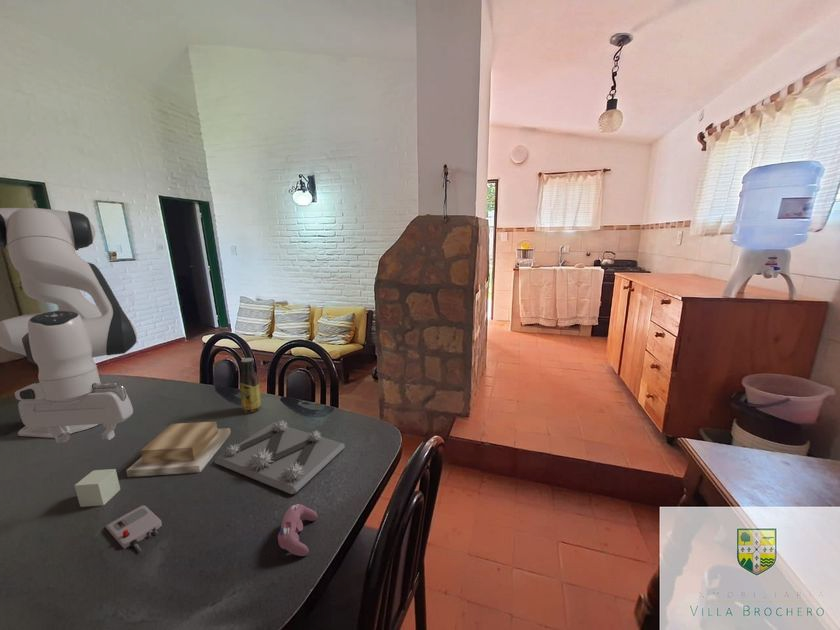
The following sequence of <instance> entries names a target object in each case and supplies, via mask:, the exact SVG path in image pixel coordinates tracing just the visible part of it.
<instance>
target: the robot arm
mask: <svg viewBox="0 0 840 630" xmlns="http://www.w3.org/2000/svg"><path fill="white" fill-rule="evenodd" d="M95 237H96V229H95V227H94V225H93V224H92V222H91V221H90V220H89V218H88V217H87V215H85V214H83V213H80V212H77V211H71V210H67V211H64V210H57V209H51V208H50V209H49V208H39V207H0V249H4V250H5V249H7V251H8V255H9V259H10V261H11V264H12V265H13V267H14V269H15V270H16V271H17V272H18V274H19V277H20V281H21V286H22V290H23V292H24V294H25V295H26V296H27V297H28V298H31V299H33V300H36V301H40V302H43V303H49V304H53V305H57V309H56V310H54V311H45V312H39V313H38V312H37V313H30V314H22V315H19V316H14V317H11V318H6V319H3V320H1V321H0V347H1V348H3V349H5V350H7V351H8V352H12V353H17V354H20V355H23V356H26V360H27V361H28V362H30V363H33V364H35V365H37V368H38V375H37V377H38V381H36V382H34V383H31V384H29V385H27V386H25V387H22V388H20V389H18V390H16V391H15V392H14V395H15V396H14V397H15V399H16V400H17V401H19V402H18V406H17V407H18V408H17V409H18V411H19V416H20V419H21V421H22V423H23V425H24V427H22V428H20V430H18V432H17V436H20V437H34V438H35V437H36V438H49V439H55V443H56V444H64V443H67V442H68V441H70V440H71V437H72V436H71V434H74V433H79V432H82V431H85V430H88V429H90V428H94V427H96V426H98V425H102V426H103V428H105V430H104V432H102V433H100V437H101V440H102V441H110V440H111V439H114V438H115V436H116V434H115V431H114V430H115V429H116V426H117V424H120V423H123V422H125V421H126V420H127V419H129V418H130V417H132V415H133V413H134V408H133V405H132V402H131V399H130V398H129V396H128V394H127V390H126V387H124V386H123V385H121V384H118V383H117V382H110V383H109V382H108V383H105V382H101V379H100V375H99V370H98V366H97V364H96V362H95V361H94V359H93V358H97V357H103V356H114V355H123V354H126V353H127V352H128V351H130V349H132V348H133V347H134V346H135V345H136V344H137V340H138V335H137V334H138V333H137V330H136V328H135V325H134V324H133V323H132V321H131V320H130V319H129V318H128V316H127V314H126V313H125V311H124V309H123V308H122V306H121V304H120V303H119V301H118V299H117V298H116V296H115V294H114V292H113V290H112V288H111V286H110V285H109V283H108V281H107V280H106V278H105V277H104V275H103V273H102V272H101V270H100V269H99V268H98V266H96V265H95V264H94V263H91V262H88V261H86V260H84V259H83V258H82V257H81V256H79V255H78V253H77V252H76V251H79V249H85V248H88V247H90V246H91V245H93V244H94V243H93V242H94V240H95ZM82 291H83V292H85V293H87V294H88V295H90V296H91V299H92V300H93V302H94V303H95V304H94V303H92V302H91V301H89V300H88V299H87V297H85V296H84V295H83V294H82Z"/></svg>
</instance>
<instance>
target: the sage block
mask: <svg viewBox="0 0 840 630" xmlns="http://www.w3.org/2000/svg"><path fill="white" fill-rule="evenodd" d="M118 477H119V476H118V473H117V469H116V468H111V469H110V468H109V469H96V470H95V469H94V470H91V472H90V473H88V474H87V475H86V476H84V477H83V478H82V479H80V480H79V481H78V482H77V483H75V484H74V489H75V493H76V495H77V500H78V503H79V507H80V508H85V507H98V506H99V507H100V506H104V505H106V504H107V503H108V502H109V501H110V500H111V499H112V498H113V497H115V495H116V494H118V493H119V491H121V486H120V482H119V478H118Z"/></svg>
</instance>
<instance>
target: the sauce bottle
mask: <svg viewBox="0 0 840 630" xmlns="http://www.w3.org/2000/svg"><path fill="white" fill-rule="evenodd" d="M254 364H255V359H254V358H253V357H245V358H242V359H241V360H240V365H241V370H242V371H241V375H240V379H239V381H238V382H239V391H240V392H239V394H240V402H241V403H240V404H241V408H242V412H243V413H245V414H252V412H253V413H256V412H258V411H259V410H261V408H262V406H261V405H262V401H261V390H260V381H259V375H258V373H256V371H255V365H254ZM257 410H258V411H257Z"/></svg>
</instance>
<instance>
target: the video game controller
mask: <svg viewBox="0 0 840 630" xmlns="http://www.w3.org/2000/svg"><path fill="white" fill-rule="evenodd" d="M318 518H319V517H318V513H317V511H315V510H313V509H311V508H309V507H307V506H305V505H303V504H302V503H296V504H294V505H291V506H289V507H288V509H287V510H286V512H285V514H284V516H283V518H282V522H281V525H280V531H279V532H278V534H277V541H278V545H279V546H280V548H281V549H282V550H285V551H288V552H289V553H291V554H292V555H295V556H297V557H298V556H299V557H305V556H307V555H308V553H309V548H308V546H307V545H306V544H304V543H302V542H301V541H300V535H299V533H300V532H302V531H303V529H304V523H303V521H302V520H306V521H311V522H314V521H316V520H317V519H318Z"/></svg>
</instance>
